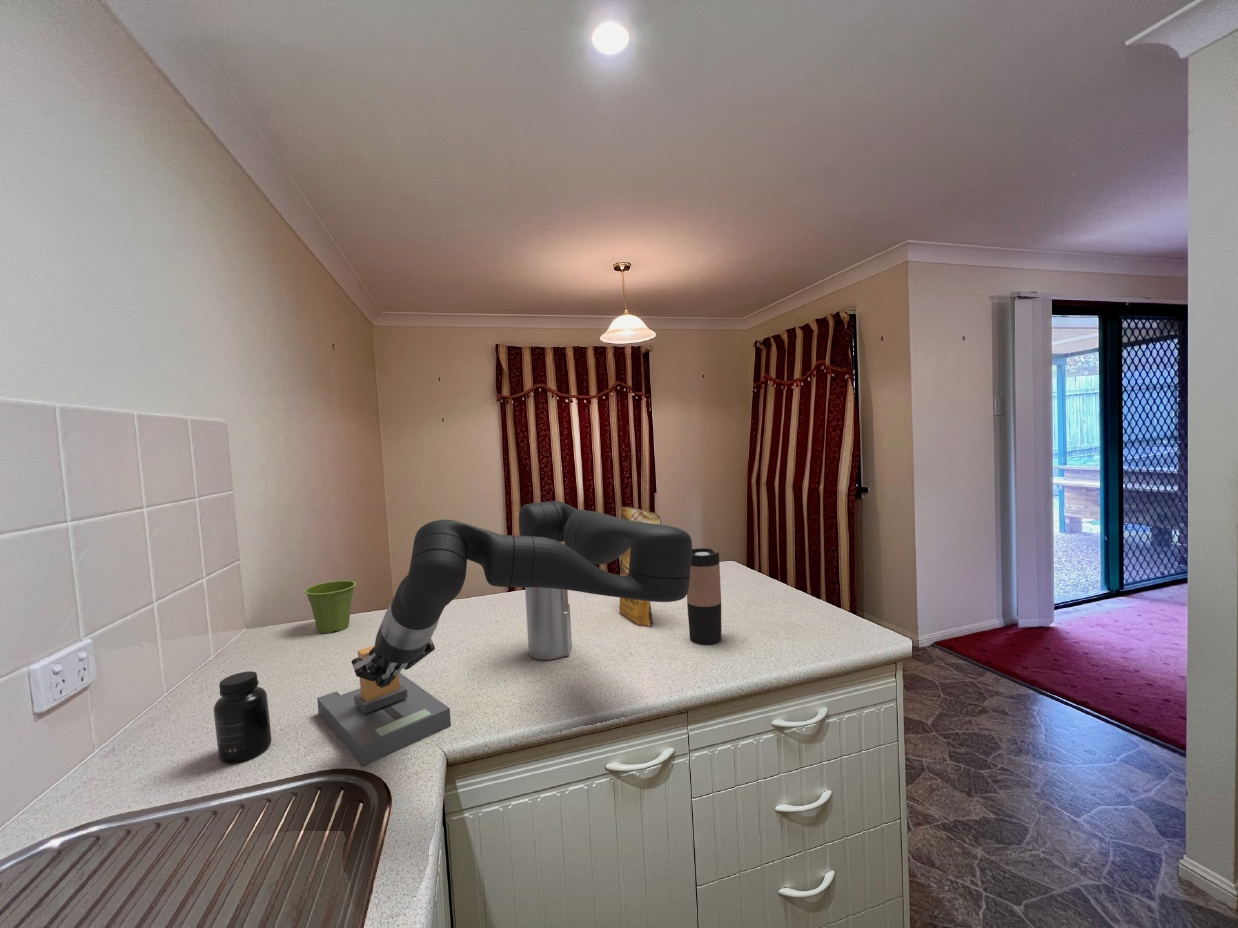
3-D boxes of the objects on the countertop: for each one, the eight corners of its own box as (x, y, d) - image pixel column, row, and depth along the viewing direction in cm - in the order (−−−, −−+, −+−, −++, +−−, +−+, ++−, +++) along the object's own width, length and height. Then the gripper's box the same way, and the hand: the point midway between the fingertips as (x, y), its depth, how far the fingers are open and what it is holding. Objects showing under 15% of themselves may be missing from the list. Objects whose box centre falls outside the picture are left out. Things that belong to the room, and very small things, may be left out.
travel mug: (684, 643, 116) (681, 555, 115) (693, 630, 123) (689, 547, 122) (719, 647, 113) (715, 556, 112) (725, 634, 120) (722, 548, 119)
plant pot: (300, 640, 129) (297, 595, 128) (316, 623, 140) (313, 582, 140) (352, 633, 131) (349, 590, 131) (364, 618, 143) (361, 578, 142)
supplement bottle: (236, 740, 85) (230, 669, 84) (280, 737, 85) (274, 665, 85) (207, 767, 78) (200, 689, 77) (255, 762, 79) (248, 685, 78)
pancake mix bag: (633, 604, 144) (629, 504, 143) (668, 625, 127) (663, 512, 126) (611, 608, 141) (606, 507, 140) (644, 631, 124) (638, 515, 123)
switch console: (318, 714, 92) (317, 696, 92) (397, 685, 102) (396, 669, 102) (362, 765, 77) (360, 744, 76) (450, 725, 86) (449, 706, 86)
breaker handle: (354, 703, 88) (350, 649, 88) (395, 688, 93) (392, 637, 93) (364, 713, 85) (360, 657, 84) (407, 697, 90) (403, 644, 89)
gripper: (370, 662, 71) (347, 718, 80) (459, 633, 80) (429, 686, 90) (354, 616, 75) (333, 675, 84) (441, 594, 84) (413, 649, 93)
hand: (382, 681), depth 87 cm, fingers closed
